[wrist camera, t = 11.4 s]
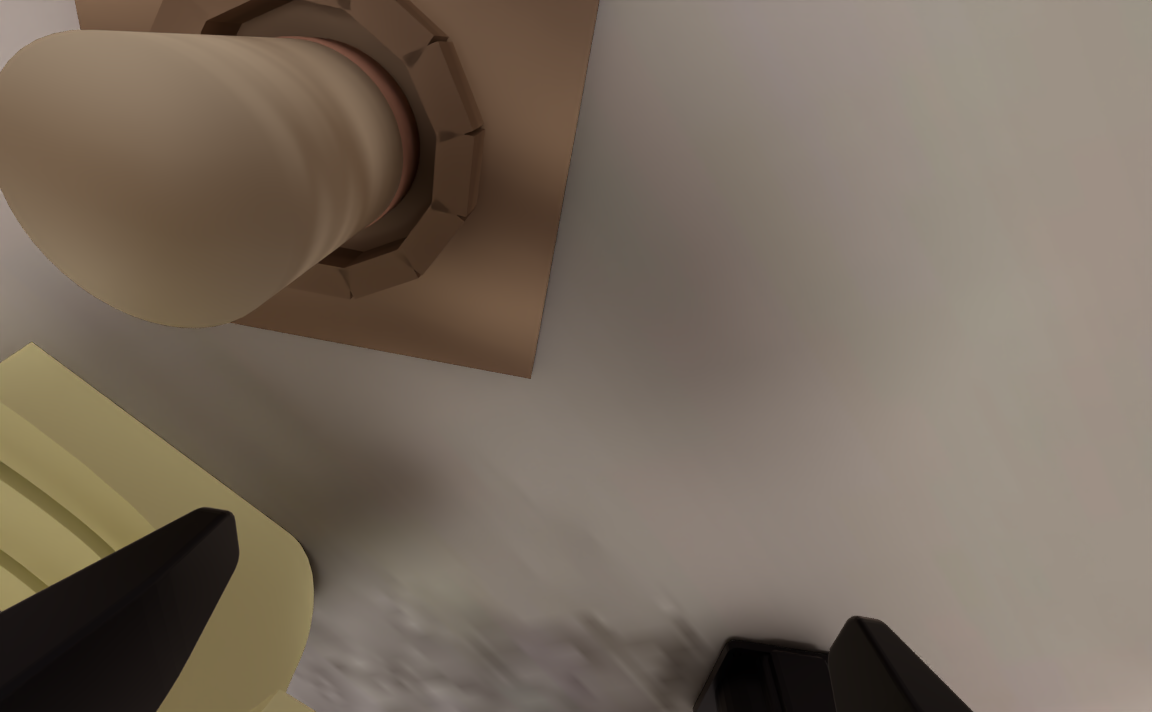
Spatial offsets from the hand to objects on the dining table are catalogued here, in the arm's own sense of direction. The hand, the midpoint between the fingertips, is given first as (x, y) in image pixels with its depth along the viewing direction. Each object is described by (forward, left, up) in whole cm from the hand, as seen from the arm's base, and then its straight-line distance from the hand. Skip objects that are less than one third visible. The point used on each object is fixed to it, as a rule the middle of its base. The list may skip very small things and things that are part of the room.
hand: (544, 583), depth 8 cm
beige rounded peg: (+3, +8, -12) cm, 15 cm away
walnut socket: (+3, +8, -13) cm, 15 cm away
